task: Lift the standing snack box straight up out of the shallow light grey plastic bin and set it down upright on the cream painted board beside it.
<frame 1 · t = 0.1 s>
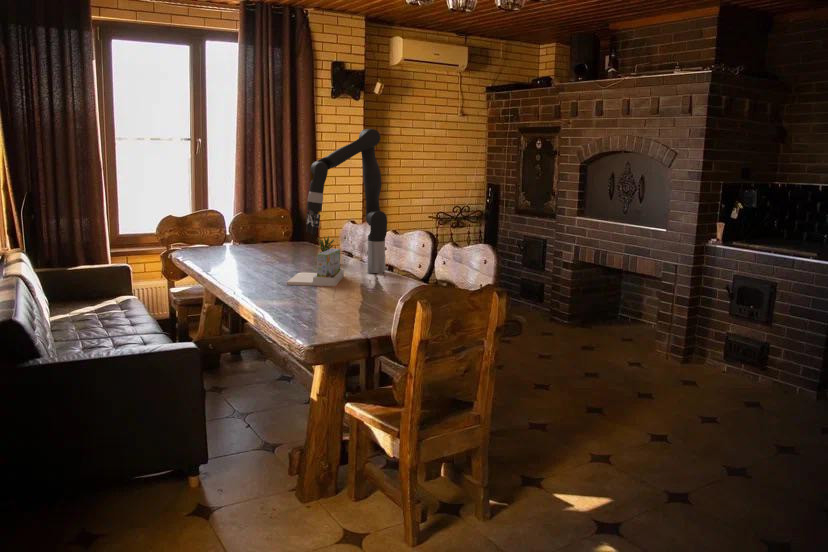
hand: (311, 233, 352), 22 cm above the table, tool pointing down, fingers open, 8 cm apart
snack box: (328, 281, 346), resting in bin
house plant: (327, 264, 397), on the table
board: (305, 280, 347), on the table
bin: (328, 280, 346), on the table
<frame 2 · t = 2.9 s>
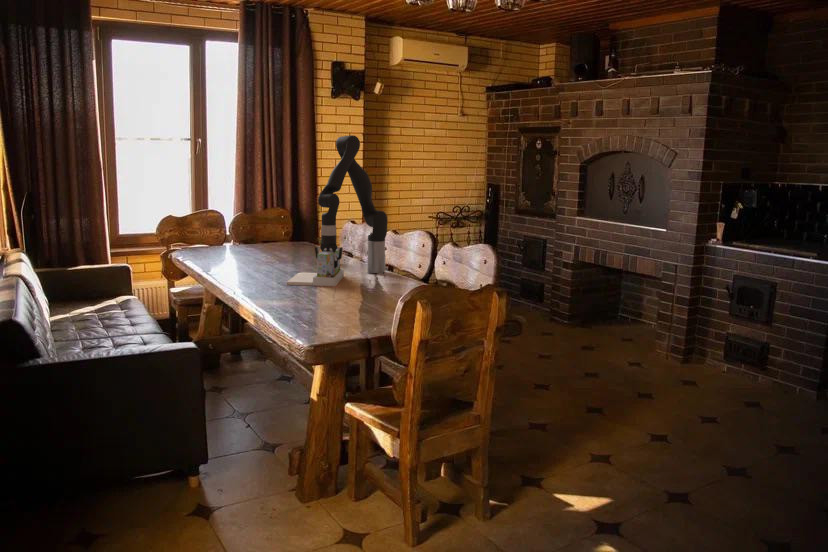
hand: (328, 267, 345), 7 cm above the table, tool pointing down, fingers closed on snack box, 6 cm apart
snack box: (329, 281, 346), resting in bin, touching gripper
everything else where it was.
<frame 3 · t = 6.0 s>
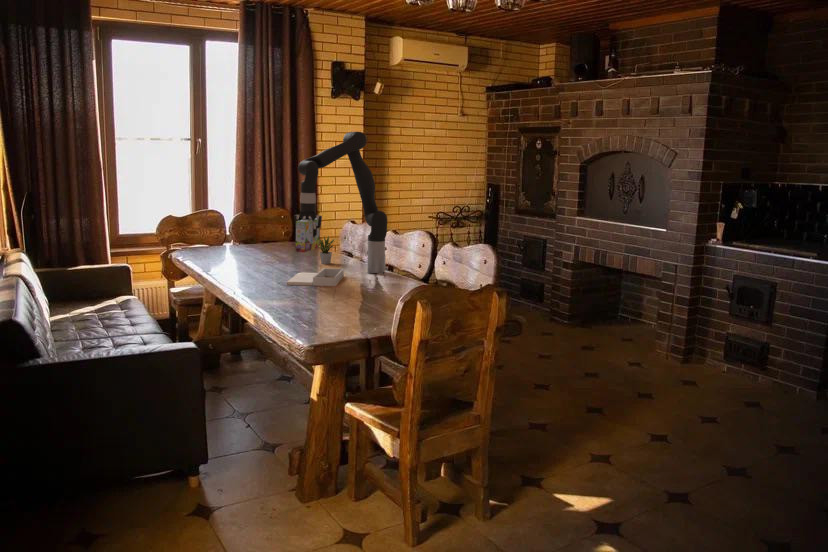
hand: (307, 236, 342), 22 cm above the table, tool pointing down, fingers closed on snack box, 6 cm apart
snack box: (307, 250, 344), point 15 cm above the table, touching gripper
everything else where it was.
when the fingers open (9 cm above the table, at t = 9.4 s): snack box drops 1 cm, resting on board.
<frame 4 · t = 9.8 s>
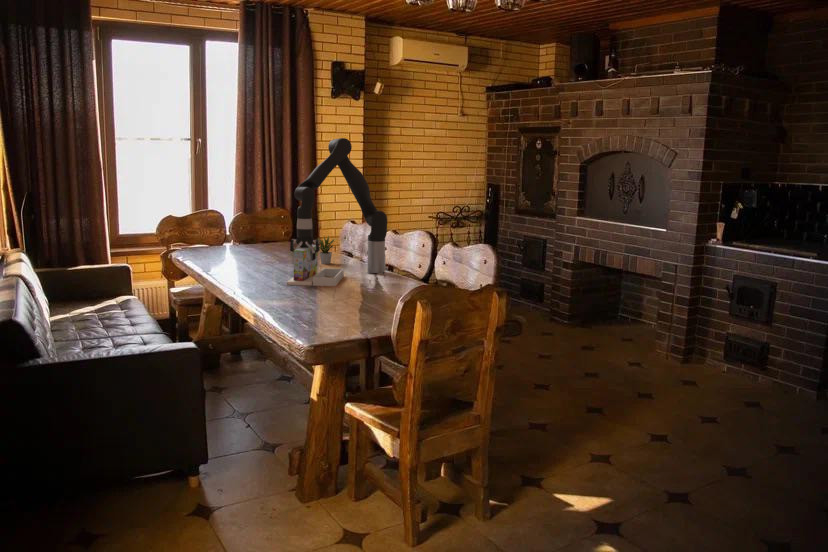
hand: (304, 260, 345), 10 cm above the table, tool pointing down, fingers open, 8 cm apart
snack box: (305, 277, 347), point 1 cm above the table, touching board
everything else where it was.
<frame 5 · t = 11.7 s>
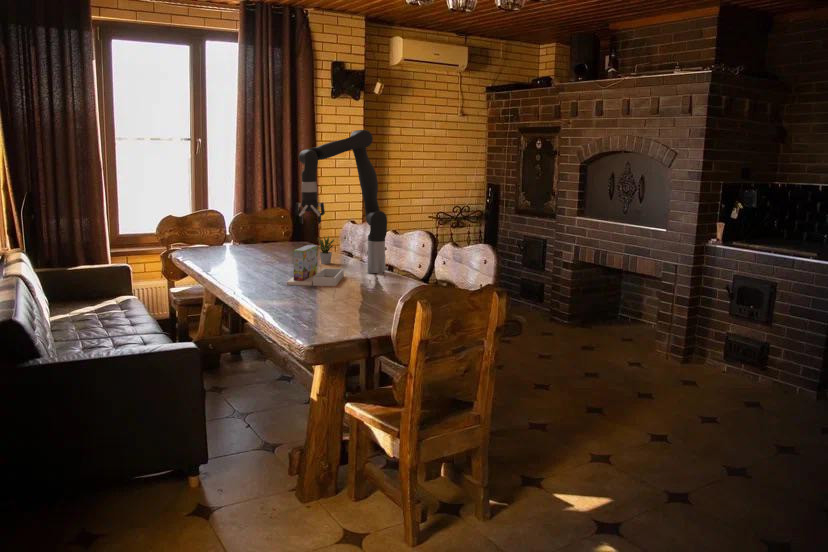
hand: (310, 223, 347), 28 cm above the table, tool pointing down, fingers open, 8 cm apart
nothing on the table moved.
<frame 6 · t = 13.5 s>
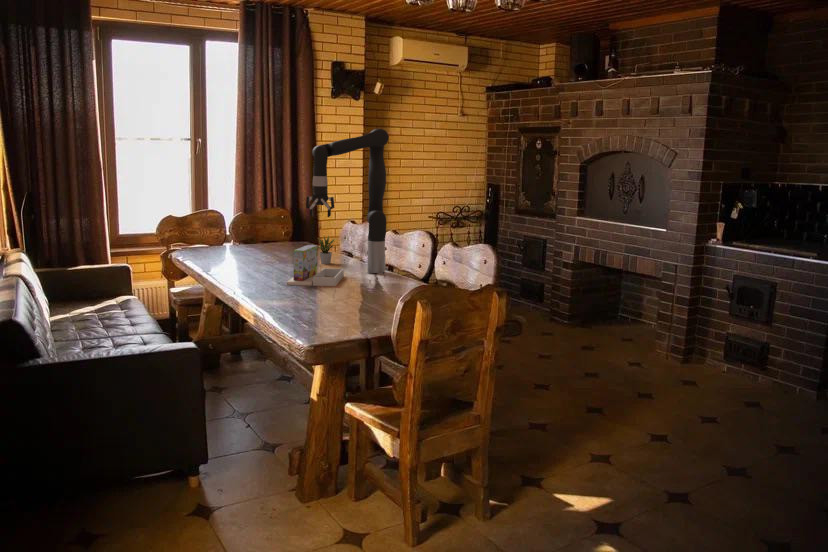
hand: (320, 216, 358), 30 cm above the table, tool pointing down, fingers open, 8 cm apart
nothing on the table moved.
at the end: snack box inside the target area (0.3 cm from its centre), point 1.3 cm above the table; snack box tilted 0°; the gripper is holding nothing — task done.
